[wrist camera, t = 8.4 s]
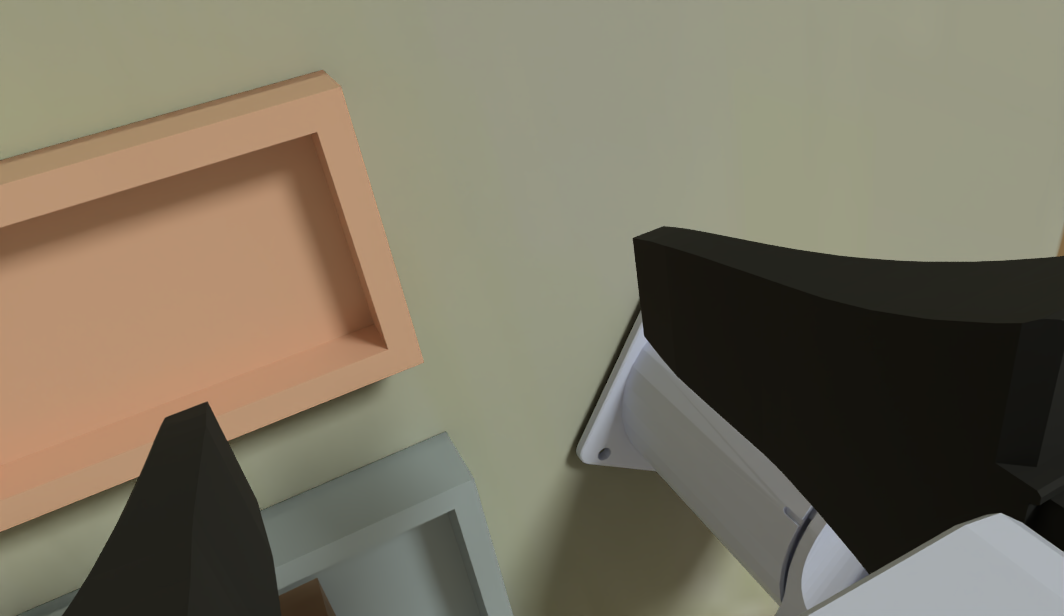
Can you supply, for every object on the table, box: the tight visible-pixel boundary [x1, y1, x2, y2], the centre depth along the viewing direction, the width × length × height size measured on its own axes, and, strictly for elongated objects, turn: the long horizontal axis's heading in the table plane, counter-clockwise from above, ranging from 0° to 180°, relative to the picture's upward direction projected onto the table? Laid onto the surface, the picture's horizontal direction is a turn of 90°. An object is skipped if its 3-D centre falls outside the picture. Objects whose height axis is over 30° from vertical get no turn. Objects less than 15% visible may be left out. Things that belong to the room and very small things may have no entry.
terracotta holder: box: [0, 70, 424, 532], centre depth 18 cm, size 13×8×2 cm, turn 101°
